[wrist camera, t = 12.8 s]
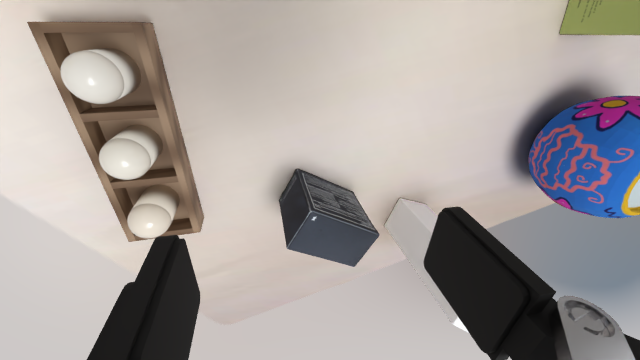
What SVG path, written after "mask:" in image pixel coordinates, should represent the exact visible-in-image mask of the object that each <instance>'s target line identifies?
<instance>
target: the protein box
mask: <svg viewBox="0 0 640 360" xmlns="http://www.w3.org/2000/svg"><path fill="white" fill-rule="evenodd" d="M560 35H640V0H569V3H568V7H567V10H566V13H565V16H564V20H563V23H562V26H561V29H560Z"/></svg>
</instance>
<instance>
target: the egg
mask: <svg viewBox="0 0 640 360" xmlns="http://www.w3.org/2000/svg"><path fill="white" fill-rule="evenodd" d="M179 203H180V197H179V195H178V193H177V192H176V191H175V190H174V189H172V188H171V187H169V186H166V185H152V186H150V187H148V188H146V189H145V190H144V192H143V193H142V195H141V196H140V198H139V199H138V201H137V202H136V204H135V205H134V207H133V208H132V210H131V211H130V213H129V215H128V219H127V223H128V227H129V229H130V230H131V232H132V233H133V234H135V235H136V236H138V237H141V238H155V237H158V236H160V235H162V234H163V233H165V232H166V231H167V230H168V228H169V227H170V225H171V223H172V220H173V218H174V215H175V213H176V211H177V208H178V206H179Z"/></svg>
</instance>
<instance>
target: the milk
mask: <svg viewBox="0 0 640 360" xmlns="http://www.w3.org/2000/svg"><path fill="white" fill-rule="evenodd" d="M437 218H438V215H437V214H436V213H435V212H434V211H433V210H432V209H431V208H430V207H429V206H428V205H427V204H423V203H419V202H415V201H410V200H406V199H402V198H399V200H398V202H397V204H396V205H395V207H394V209H393V211H392V212H391V214H390V216H389V218H388V220H387V221H386V223H385V225H384V226H385V227H386V229H387V230H388V232H389V233H390V234H391V236H392V237H393V239H394V240H395V242H396V243H397V245H398V246H399V247H400V249H401V250H402V252H403V253H404V255H405V256H406V258H407V259H408V261H409V262H410V263H411V265H412V266H413V268H414V269H415V271H416V272H417V274H418V275H419V276H420V278H421V279H422V281H423V282H424V284H425V285H426V287H427V288H428V289H429V291H430V292H431V294H432V295H433V297H434V298H435V300H436V301H437V303H438V304H439V305H440V307H441V308H442V310H443V311H444V313H445V314H446V316H447V317H448V318H449V320H450V322H451V323H452V324H453V325H455V326H457V327H459V328H461V329H463V330H464V331H466V332H468V330H467V329H466V327H465V326H464V325H463V323H462V322H461V320H460V319H459V317H458V316H457V314H456V313H455V312H454V310H453V309H452V307H451V306H450V304H449V303H448V301H447V300H446V299H445V297H444V296H443V294H442V293H441V291H440V290H439V288H438V287H437V286H436V284H435V283H434V281H433V280H432V278H431V277H430V275H429V274H428V273H427V271H426V270H425V267H424V263H423V261H424V258H425V254H426V251H427V248H428V245H429V242H430V239H431V236H432V233H433V230H434V227H435V224H436V221H437ZM468 333H469V332H468Z"/></svg>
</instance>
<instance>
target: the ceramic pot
mask: <svg viewBox="0 0 640 360" xmlns="http://www.w3.org/2000/svg"><path fill="white" fill-rule="evenodd" d="M528 162H529V169H530V173H531V175H532V177H533V179H534V181H535V183H536V184H537V185H538V187H539V188H540V189H541V190H542V191H543V192H544V193H545V194H546V195H547V196H548V197H549V198H551V199H552V200H553V201H554V202H556V203H557V204H559V205H561V206H563V207H566V208H568V209H571V210H574V211H577V212H581V213H584V214H589V215H593V216H598V217H606V218H607V217H608V218H624V217H631V216H638V215H640V96H612V97H606V98H600V99H594V100H590V101H585V102H582V103H578V104H576V105H574V106H571V107H569V108H567V109H565V110H563V111H562V112H560V113H559V114H558V115H557V116H555V117H554V118H553V119H551V120H550V121H549V122H548V123H547V124H546V125H545V127H544V128H543V129H542V130H541V131H540V132H539V134H538V135H537V137H536V139H535V140H534V142H533V144H532V147H531V149H530V152H529V158H528Z"/></svg>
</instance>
